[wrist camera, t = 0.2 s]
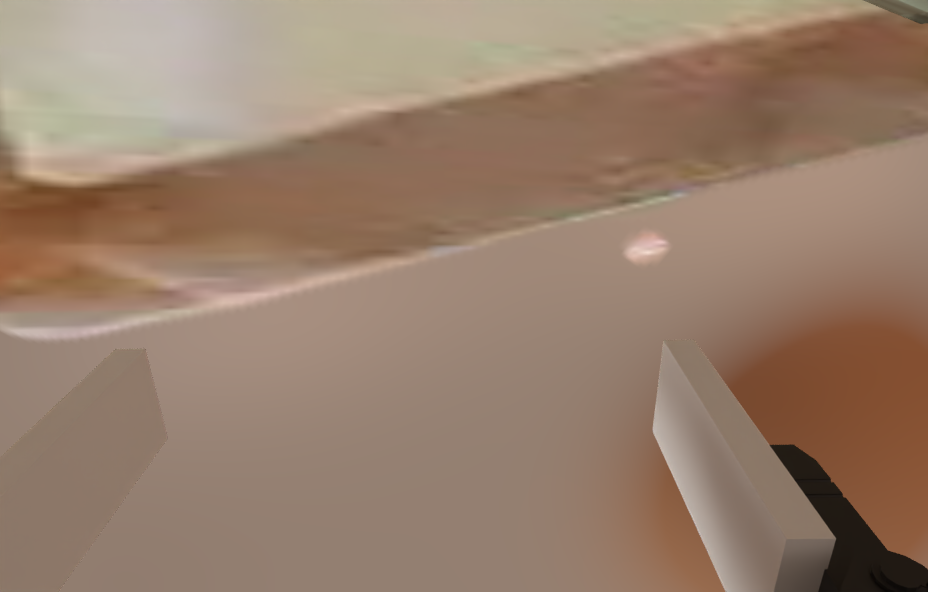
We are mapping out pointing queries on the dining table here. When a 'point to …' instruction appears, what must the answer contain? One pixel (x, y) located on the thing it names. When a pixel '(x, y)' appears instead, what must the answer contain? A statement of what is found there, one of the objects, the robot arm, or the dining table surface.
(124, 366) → the robot arm
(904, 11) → the board
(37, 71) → the dining table surface
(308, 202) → the dining table surface
